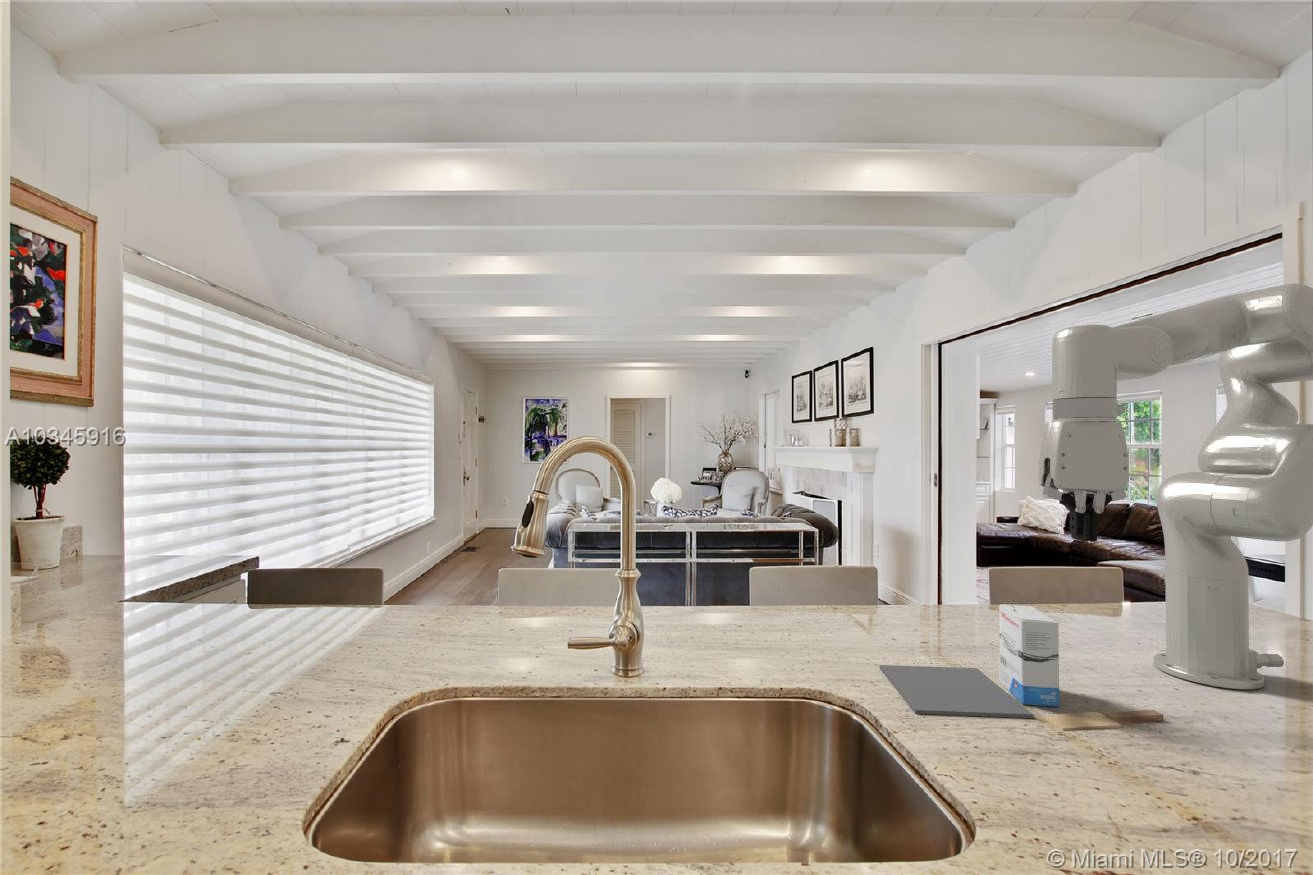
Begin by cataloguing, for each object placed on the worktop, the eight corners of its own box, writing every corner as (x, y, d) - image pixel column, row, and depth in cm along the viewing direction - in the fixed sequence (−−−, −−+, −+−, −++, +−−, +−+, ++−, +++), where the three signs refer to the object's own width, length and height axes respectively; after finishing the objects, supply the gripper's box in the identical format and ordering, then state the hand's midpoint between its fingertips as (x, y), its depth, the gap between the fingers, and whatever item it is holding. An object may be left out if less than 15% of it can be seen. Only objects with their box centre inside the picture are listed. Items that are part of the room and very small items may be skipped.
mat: (976, 671, 93) (976, 668, 93) (1033, 718, 77) (1033, 714, 77) (879, 668, 94) (879, 665, 94) (915, 713, 78) (915, 709, 78)
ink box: (1060, 708, 80) (1060, 621, 80) (1021, 705, 81) (1020, 619, 81) (1033, 683, 88) (1033, 605, 88) (998, 680, 89) (997, 603, 89)
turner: (1145, 712, 78) (1145, 706, 78) (1171, 724, 75) (1171, 718, 75) (1041, 718, 77) (1041, 712, 77) (1062, 731, 73) (1062, 725, 74)
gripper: (1120, 414, 87) (1120, 537, 87) (1015, 413, 89) (1015, 535, 88) (1159, 411, 80) (1159, 545, 80) (1044, 410, 81) (1044, 543, 81)
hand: (1084, 539), depth 84 cm, fingers closed
